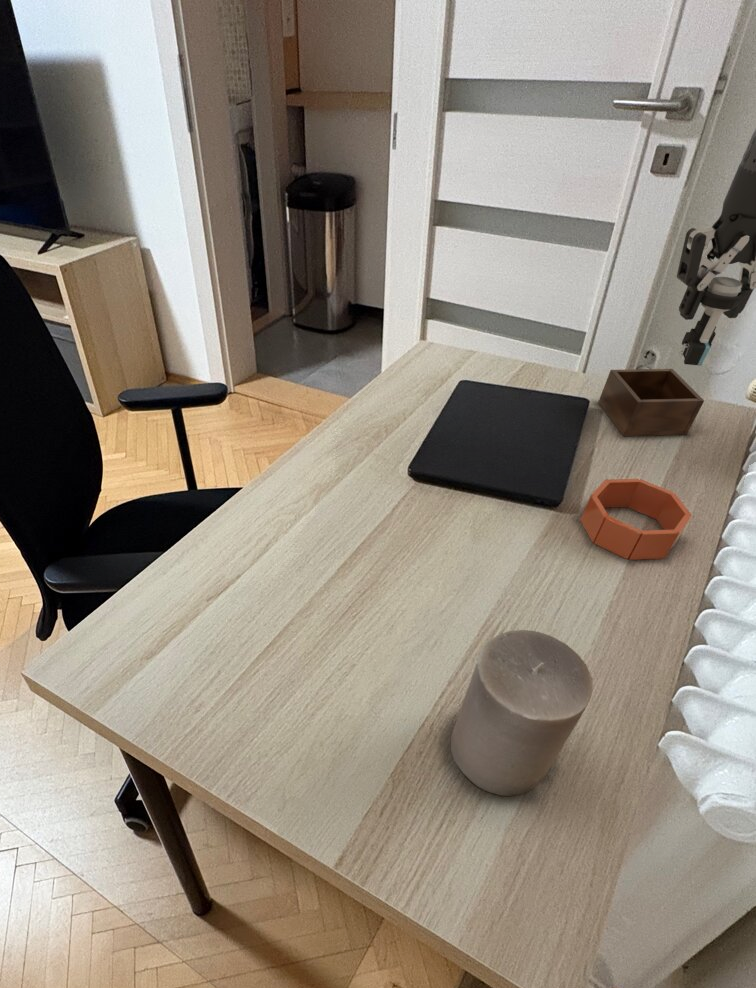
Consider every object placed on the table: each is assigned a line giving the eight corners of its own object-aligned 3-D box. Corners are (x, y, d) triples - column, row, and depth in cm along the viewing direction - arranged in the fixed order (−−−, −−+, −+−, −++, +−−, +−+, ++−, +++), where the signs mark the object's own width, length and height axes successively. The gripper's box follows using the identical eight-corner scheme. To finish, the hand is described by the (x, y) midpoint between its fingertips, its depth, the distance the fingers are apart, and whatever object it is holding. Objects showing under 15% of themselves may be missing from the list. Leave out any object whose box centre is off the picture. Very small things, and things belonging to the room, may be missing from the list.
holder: (657, 401, 112) (672, 368, 107) (686, 434, 104) (704, 400, 100) (597, 403, 111) (610, 369, 107) (623, 436, 104) (638, 402, 99)
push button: (665, 343, 88) (697, 268, 81) (704, 347, 88) (741, 272, 80) (674, 365, 84) (709, 288, 77) (715, 369, 83) (755, 291, 76)
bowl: (650, 502, 91) (663, 477, 88) (689, 557, 83) (705, 532, 80) (571, 505, 91) (581, 479, 87) (602, 560, 82) (615, 535, 79)
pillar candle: (543, 721, 65) (593, 628, 54) (549, 807, 59) (607, 721, 48) (450, 704, 66) (481, 610, 56) (446, 787, 60) (479, 699, 49)
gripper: (734, 174, 67) (668, 330, 79) (861, 170, 67) (776, 326, 80) (699, 157, 72) (642, 307, 84) (817, 154, 72) (743, 303, 85)
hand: (707, 316), depth 82 cm, fingers closed on push button, 5 cm apart
